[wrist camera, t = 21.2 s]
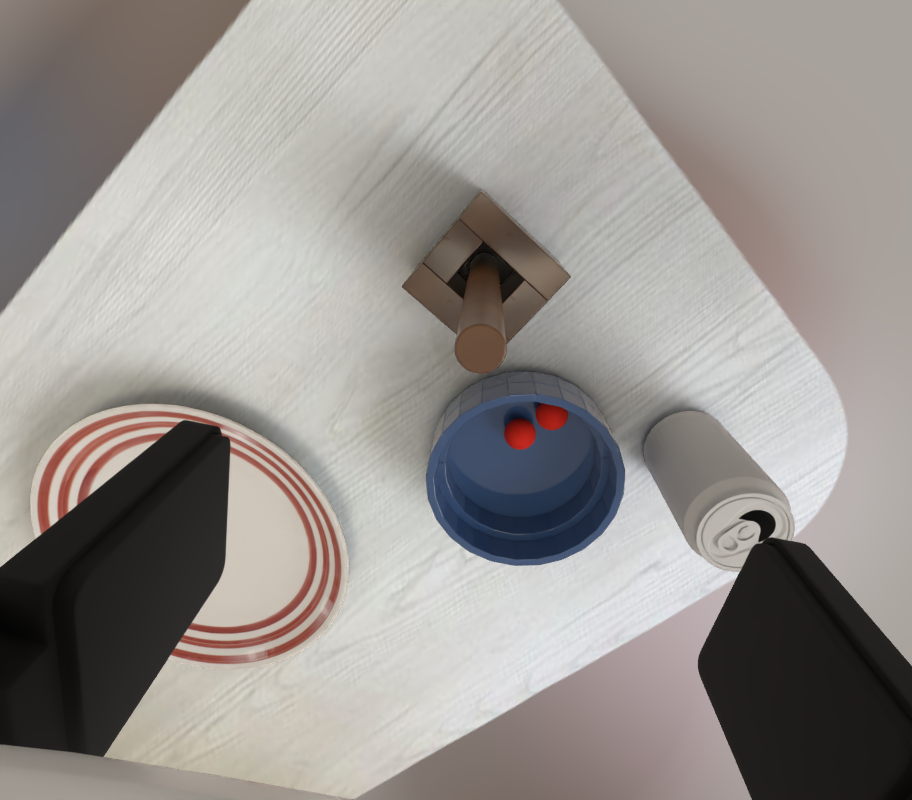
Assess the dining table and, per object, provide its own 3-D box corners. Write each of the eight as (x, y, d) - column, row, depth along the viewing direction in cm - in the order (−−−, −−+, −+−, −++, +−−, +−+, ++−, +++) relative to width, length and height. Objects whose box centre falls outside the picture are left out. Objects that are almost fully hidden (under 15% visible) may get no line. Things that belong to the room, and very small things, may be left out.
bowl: (646, 446, 44) (667, 481, 39) (522, 552, 49) (527, 596, 44) (517, 330, 41) (521, 352, 36) (398, 454, 46) (386, 489, 41)
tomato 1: (535, 427, 41) (529, 457, 41) (540, 418, 43) (535, 446, 43) (503, 420, 41) (498, 450, 42) (510, 411, 43) (506, 440, 44)
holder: (559, 262, 39) (571, 276, 34) (488, 337, 42) (489, 362, 36) (482, 188, 38) (481, 191, 32) (413, 271, 40) (401, 286, 35)
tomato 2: (574, 427, 42) (575, 403, 40) (550, 441, 41) (550, 417, 40) (552, 411, 44) (553, 387, 42) (529, 424, 43) (528, 400, 41)
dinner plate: (233, 688, 57) (219, 718, 54) (-3, 521, 51) (-35, 543, 48) (420, 542, 49) (416, 566, 46) (167, 319, 42) (142, 331, 39)
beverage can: (739, 448, 44) (823, 541, 33) (669, 492, 46) (727, 594, 35) (694, 390, 42) (767, 468, 31) (624, 439, 44) (669, 528, 33)
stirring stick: (503, 266, 40) (517, 347, 21) (484, 287, 40) (482, 383, 22) (483, 246, 39) (478, 313, 21) (464, 268, 40) (443, 351, 21)
